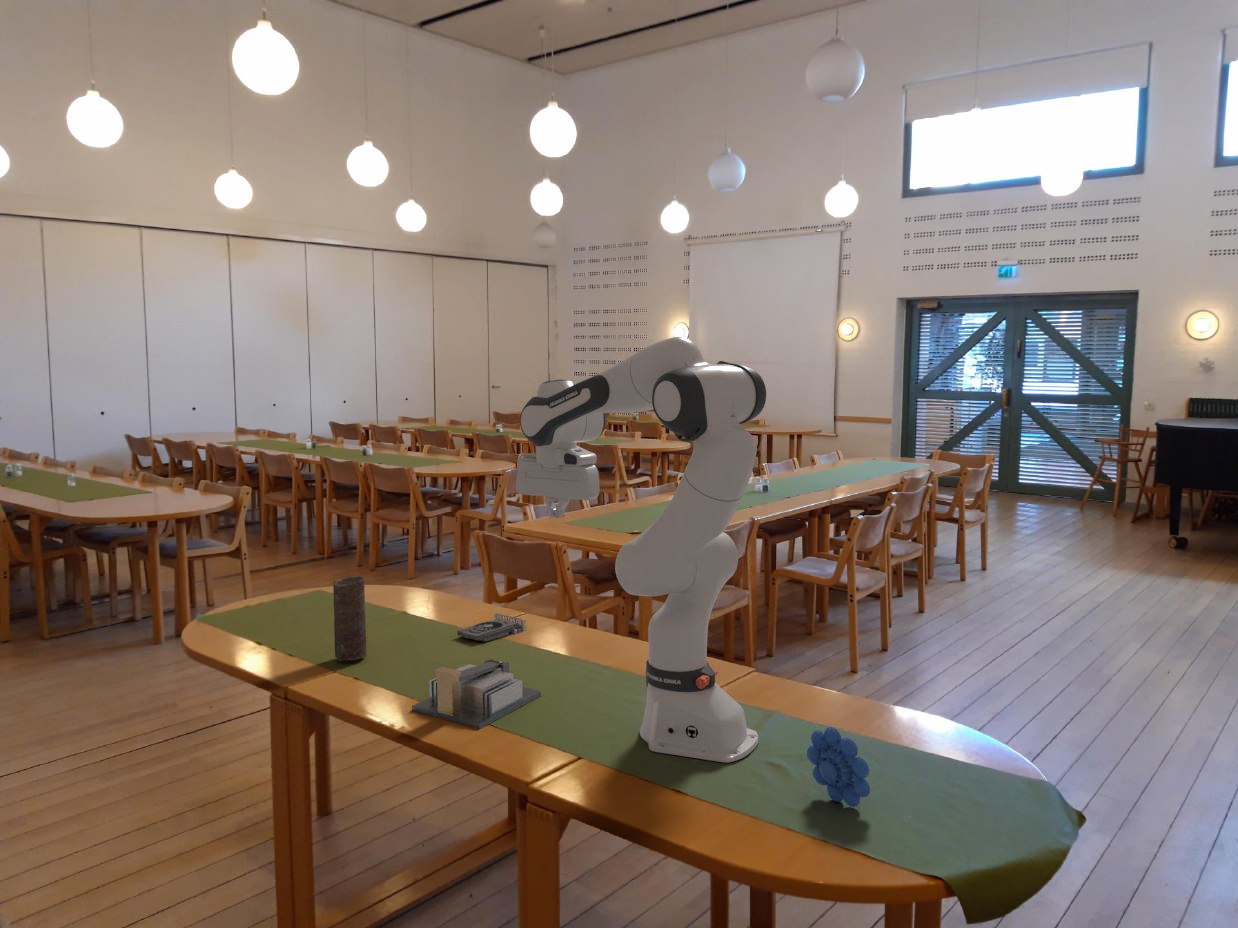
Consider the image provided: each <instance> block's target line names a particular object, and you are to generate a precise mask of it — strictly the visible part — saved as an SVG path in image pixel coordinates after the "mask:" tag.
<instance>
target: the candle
mask: <svg viewBox="0 0 1238 928" xmlns="http://www.w3.org/2000/svg"><path fill="white" fill-rule="evenodd" d="M332 584H333V585H332V586H333V588H332V589H333V616H334V618H333V619H334V620H333V623H334V625H333V626H334V629H333V630H334V632H333V633H334V656H335V657H334V658H335V659H336V660H338V661H340V662H350V661H357V660H360V659H363V658H365V657H367V656H368V655H367V654H368V653H367V646H368V645H367V626H366V624H367V623H366V596H365V595H366V594H365V592H366V591H365V587H366V585H365V577H364V576H361V575H355V576H347V577H344V578H336V579H334V581H333V583H332Z"/></svg>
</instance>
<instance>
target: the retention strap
mask: <svg viewBox="0 0 1238 928" xmlns="http://www.w3.org/2000/svg"><path fill="white" fill-rule="evenodd" d="M503 663H505V662H504V661H503V662H502V661H499V660H494V659H493V660H490V662H487V663H485V662H484V663H481V664H478V665H476V666H475V667H472V668H469V669H466V670H463V671H461V676H459V682H461V681H464V680H467V679H469V678H472V677H475V676H478V675H481V674H484V673H487V672H490V671H492V670H498V669H501V664H503Z"/></svg>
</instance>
